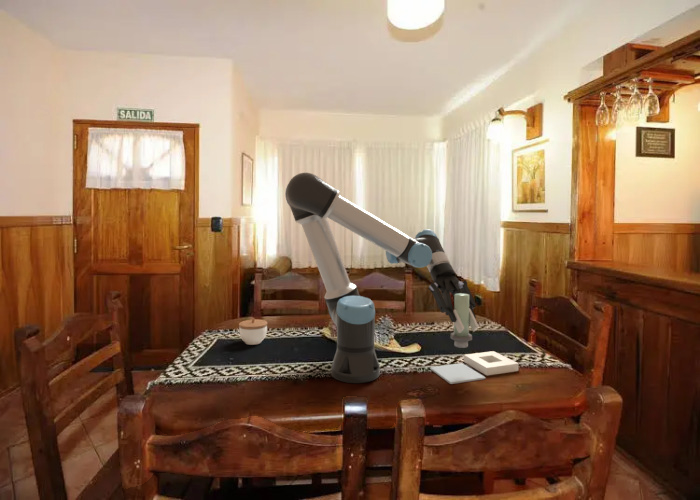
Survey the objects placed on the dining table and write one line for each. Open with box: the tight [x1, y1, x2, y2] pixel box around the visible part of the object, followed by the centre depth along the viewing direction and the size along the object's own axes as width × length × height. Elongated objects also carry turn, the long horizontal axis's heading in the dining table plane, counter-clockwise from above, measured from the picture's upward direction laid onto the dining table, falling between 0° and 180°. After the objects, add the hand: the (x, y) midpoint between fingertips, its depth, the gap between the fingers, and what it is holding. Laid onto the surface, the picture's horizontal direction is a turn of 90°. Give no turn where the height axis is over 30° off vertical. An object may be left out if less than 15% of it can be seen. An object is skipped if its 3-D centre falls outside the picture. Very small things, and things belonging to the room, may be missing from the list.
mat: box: [429, 362, 486, 385], centre depth 121 cm, size 12×12×1 cm
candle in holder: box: [450, 293, 473, 349], centre depth 119 cm, size 6×6×16 cm
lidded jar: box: [238, 318, 268, 346], centre depth 150 cm, size 11×11×9 cm
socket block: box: [463, 350, 519, 376], centre depth 127 cm, size 12×12×2 cm
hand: (468, 329), depth 116 cm, fingers closed on candle in holder, 4 cm apart
